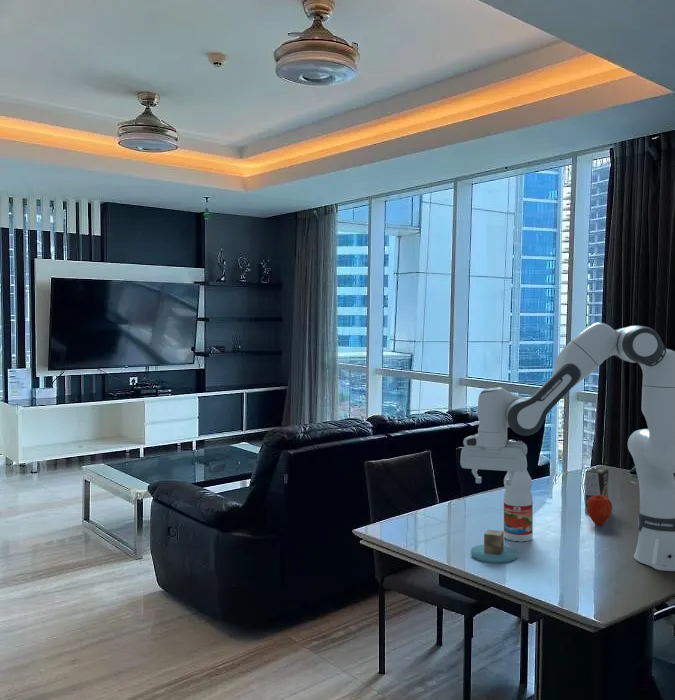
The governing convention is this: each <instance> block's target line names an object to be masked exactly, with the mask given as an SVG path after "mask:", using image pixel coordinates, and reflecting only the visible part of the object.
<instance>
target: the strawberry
mask: <svg viewBox="0 0 675 700" xmlns="http://www.w3.org/2000/svg"><path fill="white" fill-rule="evenodd" d="M612 510H613V505H612V501H611V500H610V499H609V497H608V498H607V497H606V496H602V495H594V496H592V497H590V498H589V500H588V503H587V512H588V514H587V515H588V516H589V518H590V519H591V521H592V522H593V523H594V525H596V526H597V525H598V526H597V527H599V526H603V525H604V524H606V522H607V520H608V519H609V518H610V516H611V515H612Z"/></svg>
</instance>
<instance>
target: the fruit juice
mask: <svg viewBox="0 0 675 700" xmlns="http://www.w3.org/2000/svg"><path fill="white" fill-rule="evenodd" d="M511 475H512V474H511ZM511 475H510V471H506V474H505V476H504V478H503V485H504V488H505V490H504V493H503V531H504V538H505V539H506V540H508V541H510V540H511V542H515V541H519V542H518V543H523V541H526V542H530V541H531V540H532V539H533V535H534V534H533V532H534V531H533V530H534V529H533V528H534V523H533V521H534V520H533V517H534V516H533V504H534V503H533V494H532V492H531V491H532V490H531V489H532V486H533V481H532V477H531V476H530V473H529V472H528V470H527V469H526V470H525V471H524V472H516V471H515V475H514V477H513V478H512V485H511V486H510V485H506V483H507V482H506V479H510V477H511ZM529 540H530V541H529Z"/></svg>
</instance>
